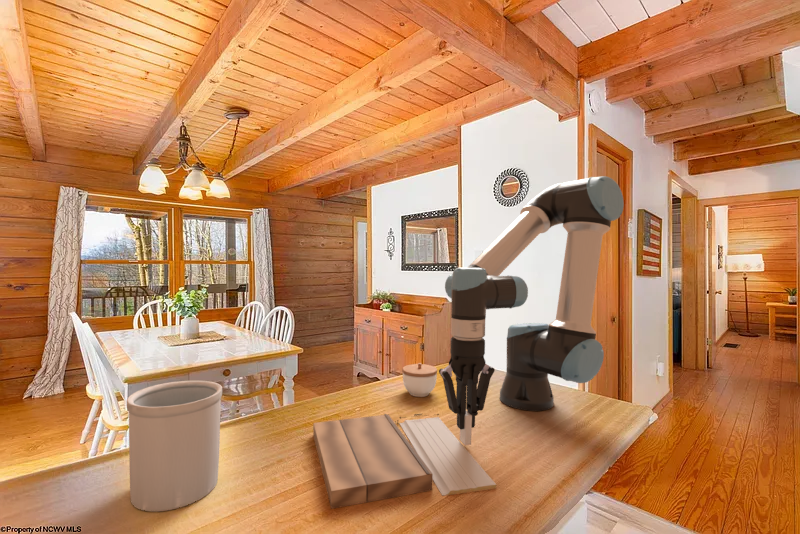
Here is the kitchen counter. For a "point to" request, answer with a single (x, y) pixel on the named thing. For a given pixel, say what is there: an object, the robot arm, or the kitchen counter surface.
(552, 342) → the robot arm
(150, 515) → the kitchen counter surface
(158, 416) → the utensil holder
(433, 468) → the baseboard molding
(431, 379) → the lidded jar
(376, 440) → the grooved tan panel
